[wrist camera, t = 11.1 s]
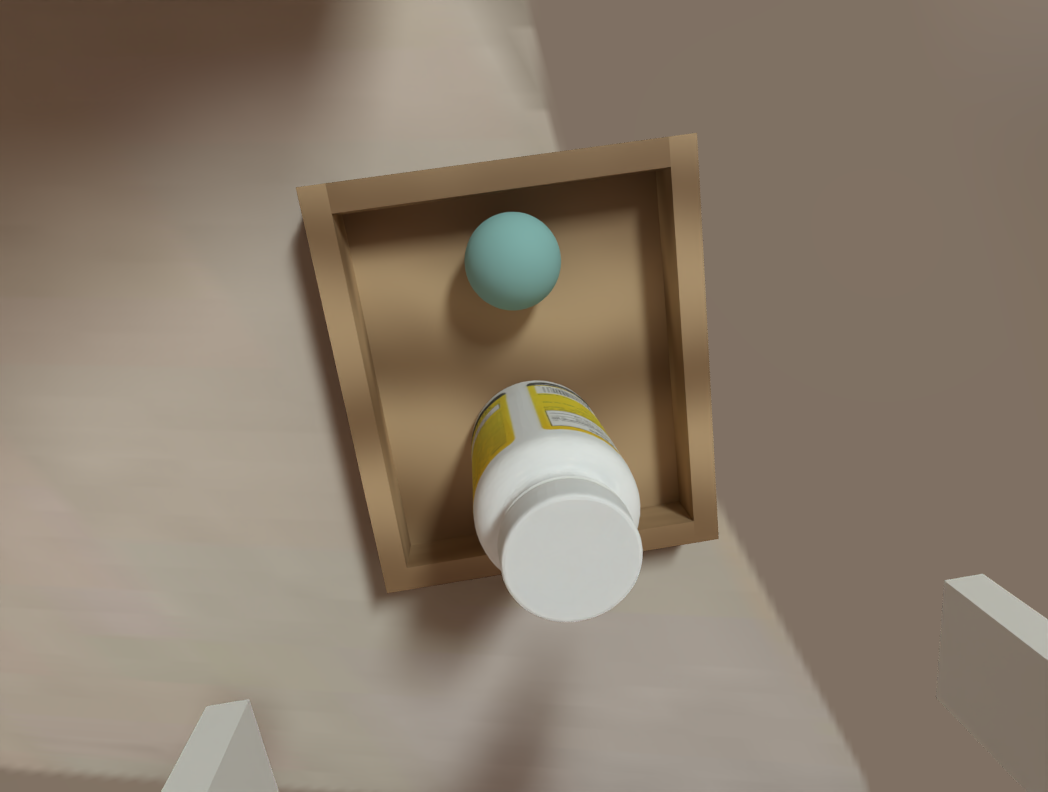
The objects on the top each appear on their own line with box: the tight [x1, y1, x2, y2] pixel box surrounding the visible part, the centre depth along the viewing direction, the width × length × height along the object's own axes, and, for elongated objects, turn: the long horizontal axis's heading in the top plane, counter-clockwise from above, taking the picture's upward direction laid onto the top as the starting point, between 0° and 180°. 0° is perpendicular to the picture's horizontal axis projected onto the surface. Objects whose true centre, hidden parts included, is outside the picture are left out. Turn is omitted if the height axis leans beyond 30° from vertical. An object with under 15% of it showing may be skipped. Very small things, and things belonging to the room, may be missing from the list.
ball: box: [464, 212, 561, 311], centre depth 23 cm, size 4×4×4 cm
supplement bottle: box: [471, 380, 643, 622], centre depth 22 cm, size 5×5×10 cm
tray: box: [296, 133, 718, 593], centre depth 25 cm, size 16×14×2 cm
